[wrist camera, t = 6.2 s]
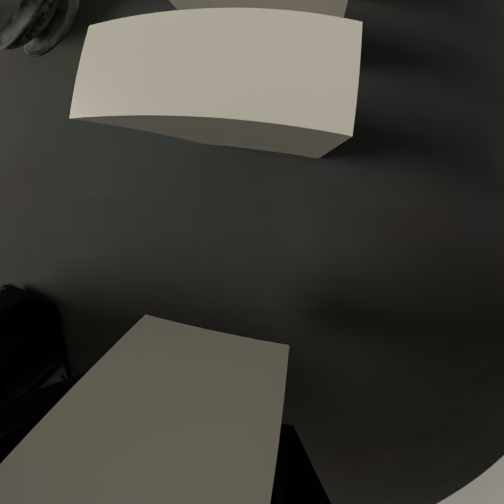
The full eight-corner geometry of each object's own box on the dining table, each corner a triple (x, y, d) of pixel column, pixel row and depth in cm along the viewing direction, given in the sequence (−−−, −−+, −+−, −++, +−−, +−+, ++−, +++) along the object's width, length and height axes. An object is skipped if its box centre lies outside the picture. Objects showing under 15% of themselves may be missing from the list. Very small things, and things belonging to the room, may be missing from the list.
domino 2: (278, 390, 10) (229, 642, 2) (147, 359, 11) (6, 545, 2) (289, 344, 10) (241, 647, 1) (145, 314, 10) (-38, 508, 2)
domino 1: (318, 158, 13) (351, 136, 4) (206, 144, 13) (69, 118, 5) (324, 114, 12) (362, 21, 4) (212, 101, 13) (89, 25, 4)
